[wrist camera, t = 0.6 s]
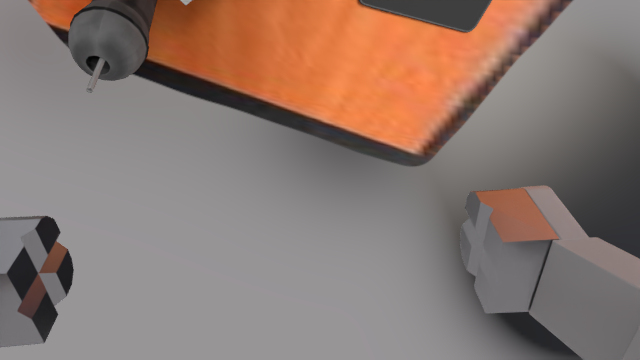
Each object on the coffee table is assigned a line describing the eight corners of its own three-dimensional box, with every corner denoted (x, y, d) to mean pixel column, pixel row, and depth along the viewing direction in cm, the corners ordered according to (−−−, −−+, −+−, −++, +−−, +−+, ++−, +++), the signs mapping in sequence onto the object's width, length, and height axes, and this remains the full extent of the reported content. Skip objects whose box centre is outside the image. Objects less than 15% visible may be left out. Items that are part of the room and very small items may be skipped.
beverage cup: (91, -22, 55) (20, 94, 42) (128, -66, 52) (62, 46, 39) (147, 22, 59) (98, 140, 46) (185, -16, 56) (143, 100, 43)
